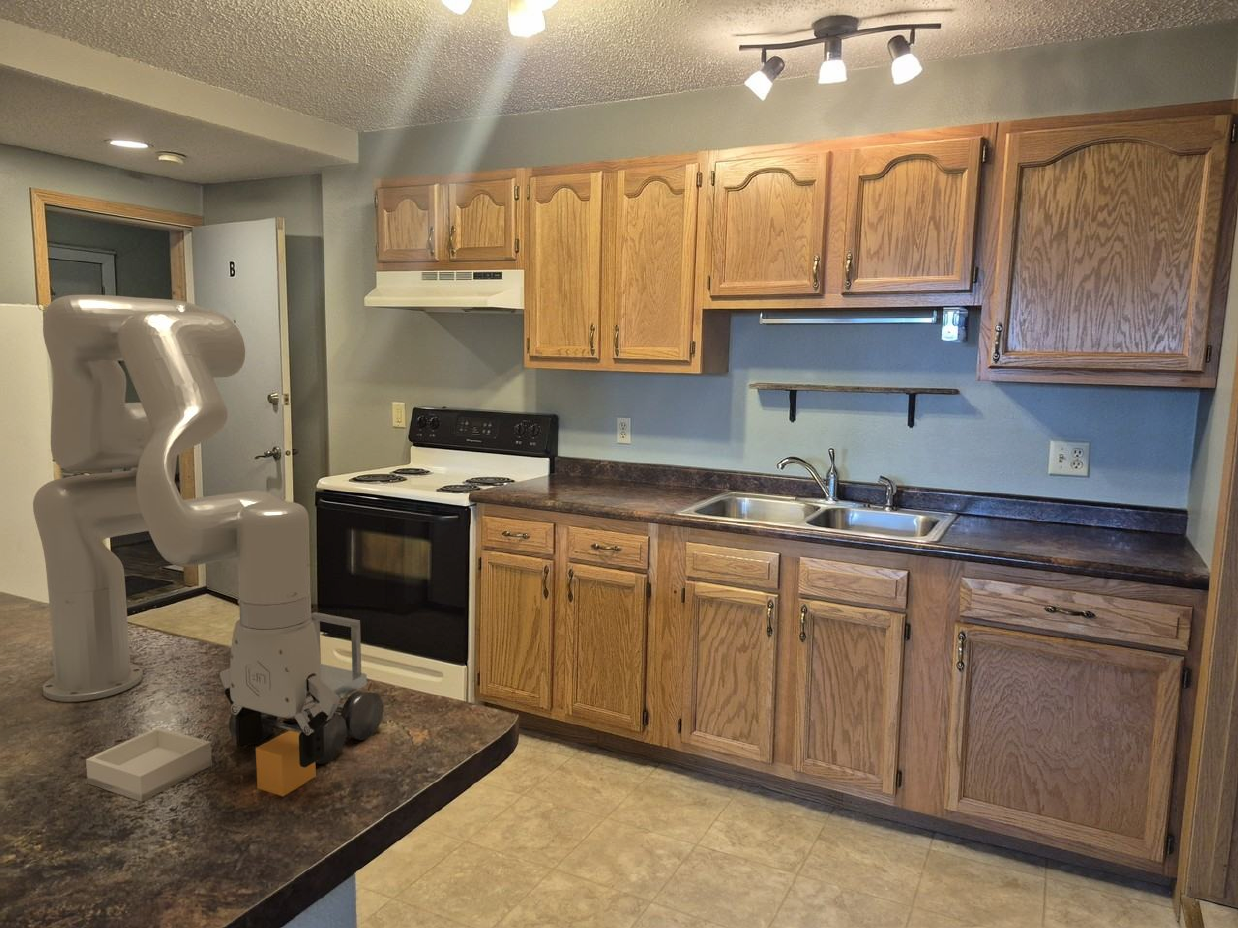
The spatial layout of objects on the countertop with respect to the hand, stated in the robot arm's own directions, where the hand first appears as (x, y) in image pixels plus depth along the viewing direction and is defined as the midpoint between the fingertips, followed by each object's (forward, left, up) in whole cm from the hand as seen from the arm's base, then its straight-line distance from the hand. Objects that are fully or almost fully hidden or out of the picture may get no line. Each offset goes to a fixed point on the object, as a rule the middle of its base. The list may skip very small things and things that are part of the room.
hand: (280, 752), depth 97 cm
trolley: (-5, +10, -4) cm, 12 cm away
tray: (-15, -5, -4) cm, 17 cm away
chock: (0, +1, -4) cm, 4 cm away
